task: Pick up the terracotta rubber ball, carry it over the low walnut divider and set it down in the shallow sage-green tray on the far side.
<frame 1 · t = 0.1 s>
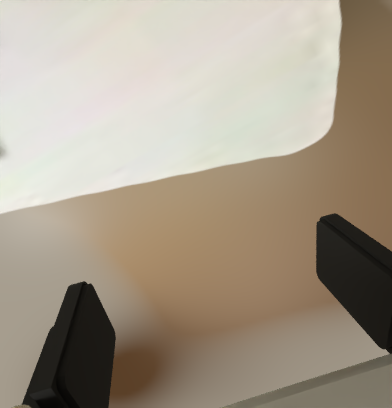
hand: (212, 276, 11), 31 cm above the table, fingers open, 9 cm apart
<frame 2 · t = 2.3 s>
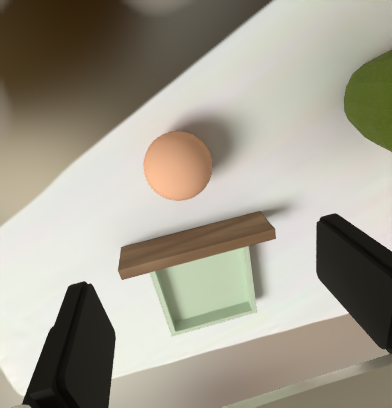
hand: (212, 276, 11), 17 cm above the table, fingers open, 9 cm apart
tray: (203, 279, 34), on the table
divider: (192, 233, 30), on the table
ball: (174, 157, 26), on the table
apple: (354, 93, 27), on the table
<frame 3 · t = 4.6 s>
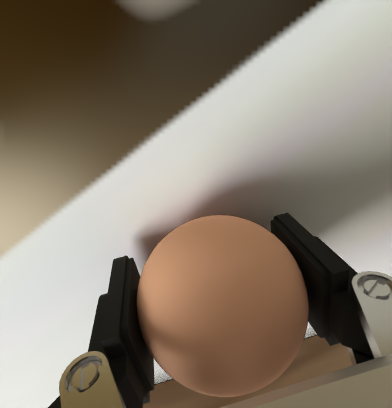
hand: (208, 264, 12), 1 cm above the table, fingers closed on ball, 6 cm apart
divider: (230, 368, 17), on the table
ball: (203, 250, 13), on the table, touching gripper
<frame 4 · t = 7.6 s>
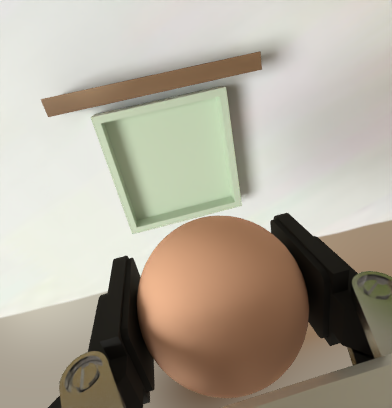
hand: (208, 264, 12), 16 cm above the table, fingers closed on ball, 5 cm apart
tray: (172, 160, 26), on the table
divider: (154, 83, 23), on the table
ball: (203, 251, 13), point 15 cm above the table, touching gripper
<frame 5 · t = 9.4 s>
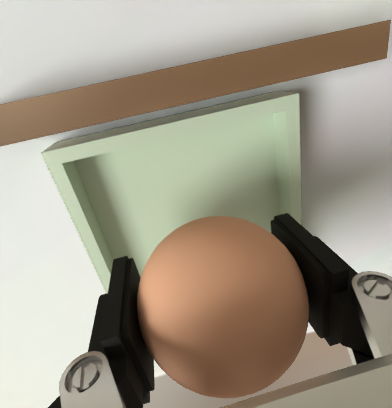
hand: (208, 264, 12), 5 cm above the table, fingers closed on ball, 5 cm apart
tray: (192, 213, 16), on the table
divider: (163, 85, 13), on the table
ball: (203, 251, 13), point 4 cm above the table, touching gripper
when the fingers open (3 cm above the table, at t = 10.7 s): ball drops 1 cm, resting on tray.
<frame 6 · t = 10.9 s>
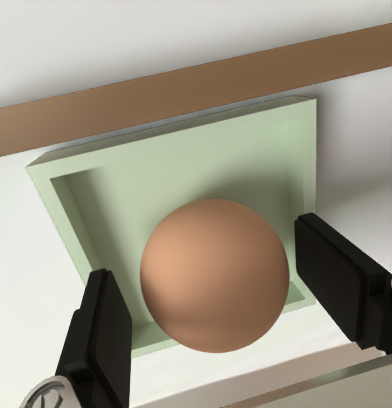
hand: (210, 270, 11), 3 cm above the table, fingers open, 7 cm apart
tray: (195, 229, 14), on the table
divider: (163, 89, 11), on the table
ball: (197, 234, 14), point 1 cm above the table, touching tray
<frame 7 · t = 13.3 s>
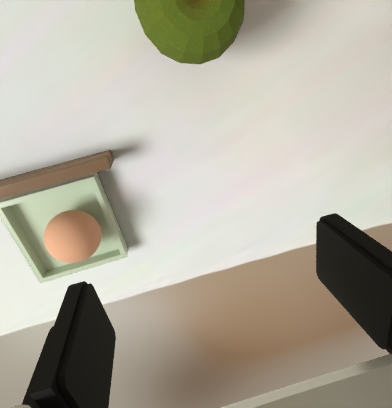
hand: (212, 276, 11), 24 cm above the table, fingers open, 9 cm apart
tray: (69, 225, 34), on the table
divider: (44, 173, 31), on the table
ball: (68, 228, 33), point 1 cm above the table, tilted 26°, touching tray
apple: (177, 25, 28), on the table
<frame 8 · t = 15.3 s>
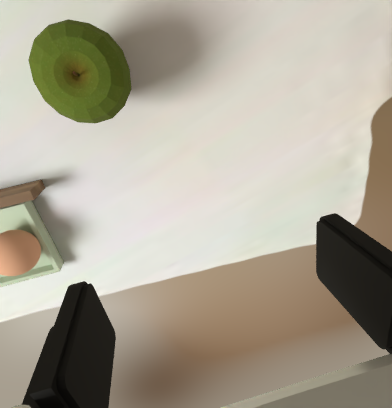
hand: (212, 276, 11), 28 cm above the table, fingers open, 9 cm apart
tray: (8, 242, 38), on the table
ball: (5, 247, 37), point 1 cm above the table, tilted 46°, touching tray
apple: (96, 76, 32), on the table
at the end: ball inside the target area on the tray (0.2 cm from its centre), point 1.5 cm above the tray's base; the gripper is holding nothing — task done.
